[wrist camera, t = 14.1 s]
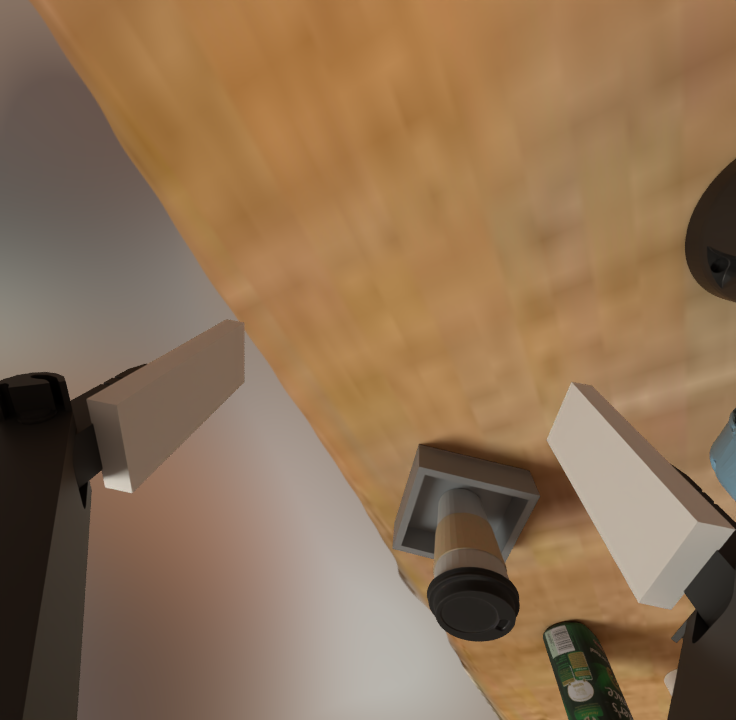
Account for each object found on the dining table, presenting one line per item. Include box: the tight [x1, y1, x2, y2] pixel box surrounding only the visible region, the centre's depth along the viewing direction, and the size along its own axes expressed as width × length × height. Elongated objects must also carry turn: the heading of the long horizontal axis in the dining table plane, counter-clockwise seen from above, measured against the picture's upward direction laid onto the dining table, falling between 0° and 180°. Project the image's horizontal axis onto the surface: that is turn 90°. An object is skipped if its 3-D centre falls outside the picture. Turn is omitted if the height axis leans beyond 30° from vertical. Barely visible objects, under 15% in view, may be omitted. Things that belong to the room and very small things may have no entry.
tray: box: [393, 445, 540, 563], centre depth 48 cm, size 15×15×4 cm
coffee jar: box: [543, 622, 633, 720], centre depth 50 cm, size 10×8×19 cm
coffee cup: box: [427, 489, 520, 641], centre depth 42 cm, size 9×9×15 cm
